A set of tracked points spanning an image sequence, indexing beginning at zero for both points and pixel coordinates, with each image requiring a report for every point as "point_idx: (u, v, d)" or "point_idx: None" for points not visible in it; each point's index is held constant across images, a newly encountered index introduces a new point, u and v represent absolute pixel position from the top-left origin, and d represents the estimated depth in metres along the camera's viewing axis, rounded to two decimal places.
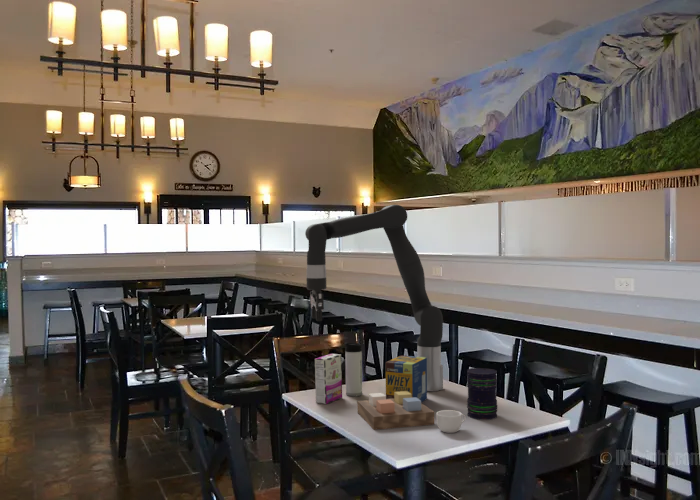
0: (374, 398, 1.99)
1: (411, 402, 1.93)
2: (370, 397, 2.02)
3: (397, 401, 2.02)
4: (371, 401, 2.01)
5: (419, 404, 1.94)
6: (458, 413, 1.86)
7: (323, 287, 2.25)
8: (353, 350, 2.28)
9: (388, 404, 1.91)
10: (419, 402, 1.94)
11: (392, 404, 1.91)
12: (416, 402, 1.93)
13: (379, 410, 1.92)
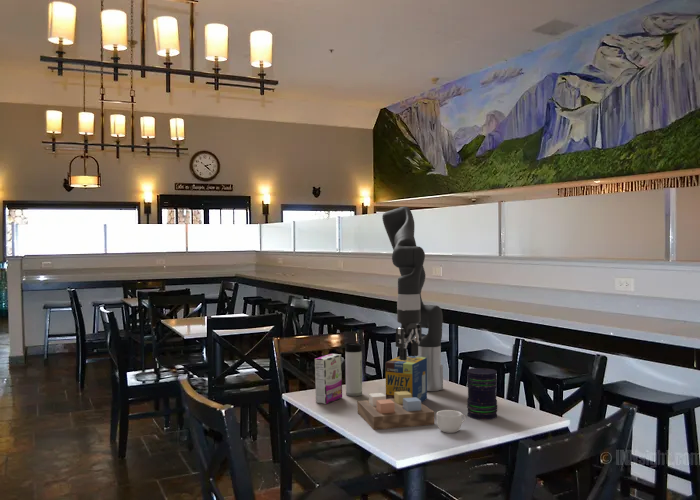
0: (374, 398, 1.99)
1: (411, 402, 1.93)
2: (370, 397, 2.02)
3: (397, 401, 2.02)
4: (371, 401, 2.01)
5: (419, 404, 1.94)
6: (458, 413, 1.86)
7: None
8: (353, 350, 2.28)
9: (388, 404, 1.91)
10: (419, 402, 1.94)
11: (392, 404, 1.91)
12: (416, 402, 1.93)
13: (379, 410, 1.92)
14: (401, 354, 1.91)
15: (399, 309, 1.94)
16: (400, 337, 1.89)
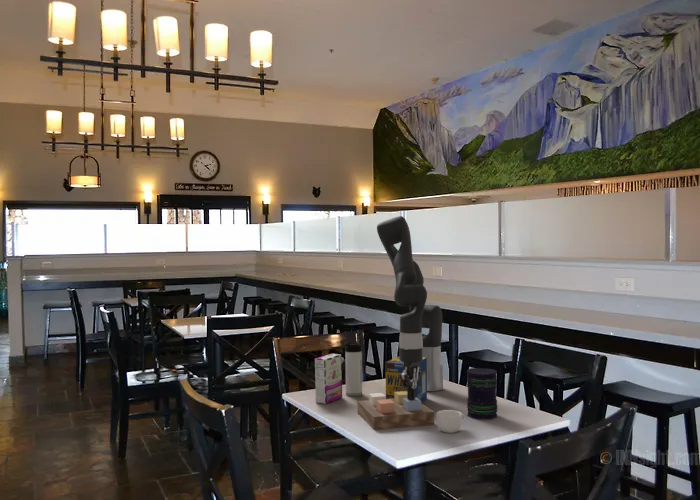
0: (374, 398, 1.99)
1: (411, 402, 1.93)
2: (370, 397, 2.02)
3: (397, 401, 2.02)
4: (371, 401, 2.01)
5: (419, 404, 1.94)
6: (458, 413, 1.86)
7: None
8: (353, 350, 2.28)
9: (388, 404, 1.91)
10: (419, 402, 1.94)
11: (392, 404, 1.91)
12: (416, 402, 1.93)
13: (379, 410, 1.92)
14: (409, 394, 1.94)
15: (401, 348, 1.93)
16: (406, 382, 1.91)
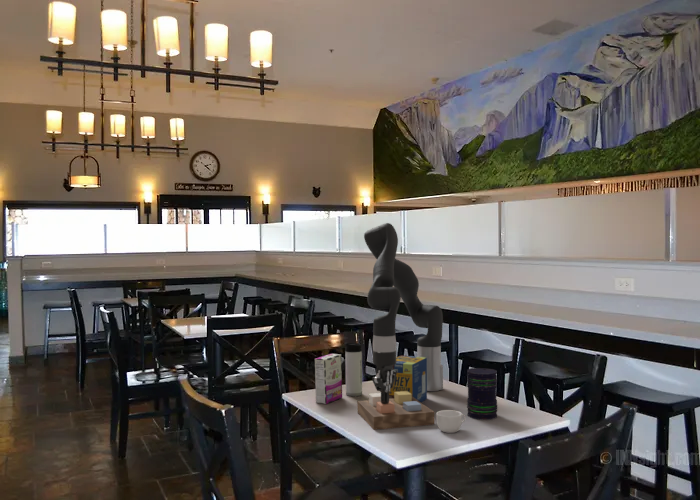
0: (374, 398, 1.99)
1: (411, 406, 1.93)
2: (370, 397, 2.02)
3: (397, 401, 2.02)
4: (371, 401, 2.01)
5: (419, 408, 1.94)
6: (458, 413, 1.86)
7: None
8: (353, 350, 2.28)
9: (388, 406, 1.91)
10: (419, 405, 1.94)
11: (392, 406, 1.91)
12: (416, 406, 1.93)
13: (379, 411, 1.92)
14: (382, 398, 1.92)
15: (374, 351, 1.91)
16: (379, 385, 1.89)
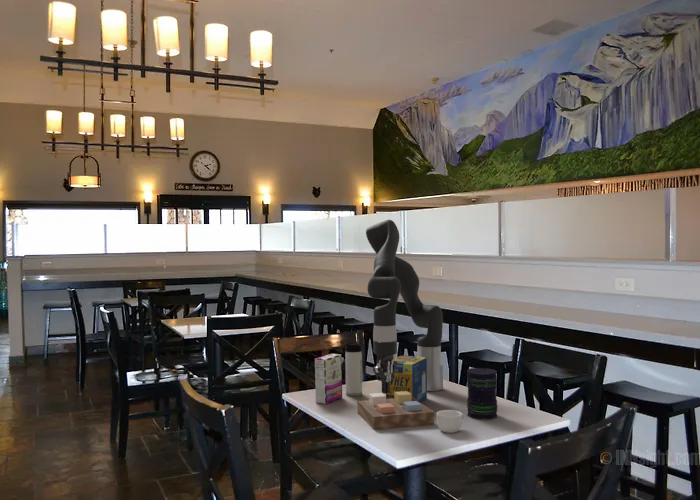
0: (374, 398, 1.99)
1: (411, 406, 1.93)
2: (370, 397, 2.02)
3: (397, 401, 2.02)
4: (371, 401, 2.01)
5: (419, 408, 1.94)
6: (458, 413, 1.86)
7: None
8: (353, 350, 2.28)
9: (388, 408, 1.91)
10: (419, 405, 1.94)
11: (392, 408, 1.91)
12: (416, 406, 1.93)
13: None
14: (383, 387, 1.92)
15: (375, 341, 1.91)
16: (380, 375, 1.89)
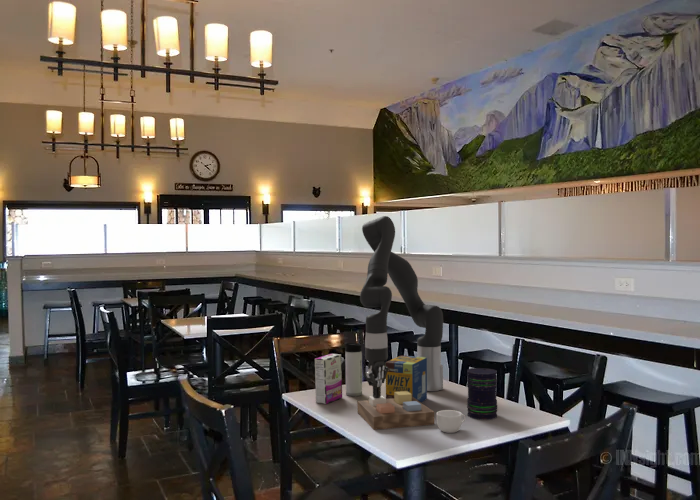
0: (374, 401, 1.99)
1: (411, 406, 1.93)
2: (370, 399, 2.02)
3: (397, 401, 2.02)
4: (371, 404, 2.01)
5: (419, 408, 1.94)
6: (458, 413, 1.86)
7: None
8: (353, 350, 2.28)
9: (388, 408, 1.91)
10: (419, 405, 1.94)
11: (392, 408, 1.91)
12: (416, 406, 1.93)
13: None
14: (374, 392, 2.01)
15: (366, 348, 2.00)
16: (371, 380, 1.98)
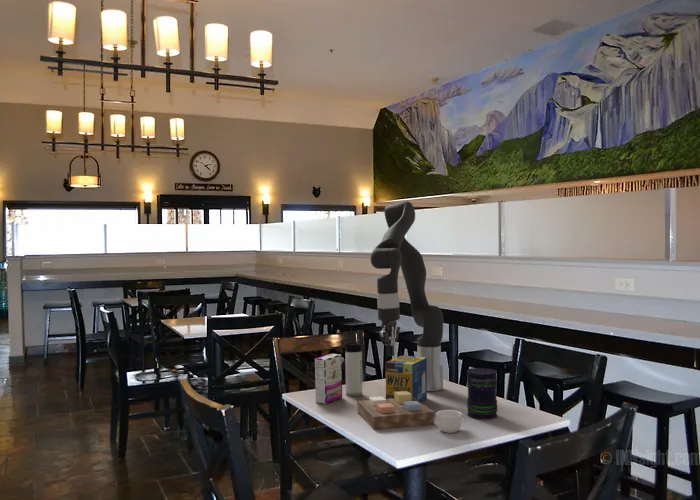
0: (374, 402, 1.99)
1: (411, 406, 1.93)
2: (370, 400, 2.02)
3: (397, 401, 2.02)
4: (371, 405, 2.01)
5: (419, 408, 1.94)
6: (458, 413, 1.86)
7: None
8: (353, 350, 2.28)
9: (388, 408, 1.91)
10: (419, 405, 1.94)
11: (392, 408, 1.91)
12: (416, 406, 1.93)
13: None
14: (388, 351, 2.07)
15: (379, 308, 2.06)
16: (385, 339, 2.04)
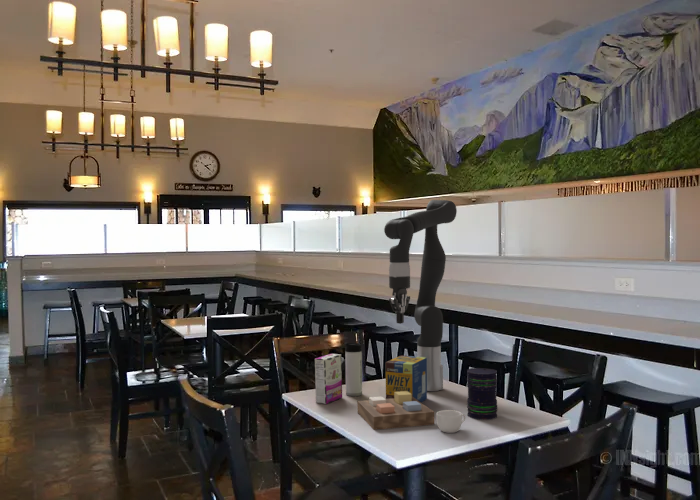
0: (374, 402, 1.99)
1: (411, 406, 1.93)
2: (370, 400, 2.02)
3: (397, 401, 2.02)
4: (371, 405, 2.01)
5: (419, 408, 1.94)
6: (458, 413, 1.86)
7: None
8: (353, 350, 2.28)
9: (388, 408, 1.91)
10: (419, 405, 1.94)
11: (392, 408, 1.91)
12: (416, 406, 1.93)
13: None
14: (398, 318, 2.16)
15: (390, 276, 2.15)
16: (395, 306, 2.13)
